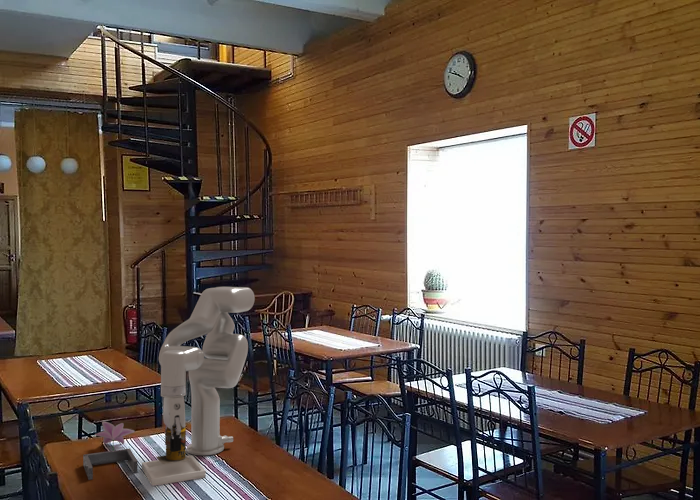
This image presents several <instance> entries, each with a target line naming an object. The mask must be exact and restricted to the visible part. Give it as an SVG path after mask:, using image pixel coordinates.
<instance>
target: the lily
mask: <svg viewBox="0 0 700 500" xmlns="http://www.w3.org/2000/svg"><path fill="white" fill-rule="evenodd" d="M101 423H102V424H101V425H102V429H103V431H99V432H97V433H95V434H94V436H97V437H103V440H102V441H103V442H102V443H103V445H106V444H109V443H110V442H112V451H114V442H115V441H116V442H118V443H121V444H125V439H124V438H125V436H126V435H127V436H128V435H130V434H133V433H135V430H134V429H131V428H124V423H123V422H121V423H119V424H116V425H114V424H112V423H110V422H108V421H103V420H102V422H101Z"/></svg>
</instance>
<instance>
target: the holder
mask: <svg viewBox="0 0 700 500" xmlns="http://www.w3.org/2000/svg"><path fill="white" fill-rule="evenodd" d="M82 456H83V457H82V458H83V459H82V460H83V462H82V463H83V464H82V465H83V468H84V471H85V474H86V477H87V479H88V481H91V480H94V478H93V477H94V475H93V474H94V473H93V472H94V470H93V469H94V468H93V466H99V465H104V464H112V463H119V462H120V463H121V462H127V463H128V466H129V467H130V469H131V471H132V472H133V473H134V474H136V473H138V471H139V470H138V469H139V468H138V467H139V466H138V465H139V464H138V463H139V462H138V459H137V458H136V456H135V454H134V453H133V450H131V448H130V447H129V448H122V449H116V450H114V451H113V450H110V451H107V450H106V451H100V452H94V453H87V454H83V455H82Z"/></svg>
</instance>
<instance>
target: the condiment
mask: <svg viewBox="0 0 700 500" xmlns="http://www.w3.org/2000/svg"><path fill="white" fill-rule="evenodd" d="M180 425H181V424H180ZM172 426H173V425H172ZM173 428H176V426H174V427H173ZM175 431H176V430H174V431H173V432H175ZM165 433H166V445H165V455H159V456H155V458H156V460H159V461H160V462H161V463H162V464H166V463H172V462H179V461H185V460H189V458H188V457H186V456H187V455H186V453H187V436H186V435H187V434H186V433H187V428H186V427H185V428H182V427H181V450H180V451H175V452H171V451H170V439H171V429H169V428H168V427H167V430H166V432H165Z"/></svg>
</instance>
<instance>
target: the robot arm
mask: <svg viewBox="0 0 700 500" xmlns="http://www.w3.org/2000/svg"><path fill="white" fill-rule="evenodd" d="M255 300H256V298H255V293H254V291H253V290H252V289H251V288H250V287H244V286H243V287H241V286H240V287H239V286H238V287H237V286H216V287H210V288H206V289H205V290H203V291H202V293H201V294H200V296H199V298H198V300H197V303H196V304H195V307H194V309H193V311H192V313H191V314H190V317H189V318H188V319H186V320H185V321H184V322H182V323H181V324H179V325H178V326H176V327H175V328H173V329H172V330H171V331H170V332H168V334H167V336H166V337H165V339H164V342H163V343H162V345H161V347H160V350H159V354H158V362H159V365H160V397H162V398H163V410H162V413H163V414H162V417H163V418H162V419H163V423H164V426H165V429H164V430H165V431H164V432H165V433H164V434H165V435H164V445H165V446H166V430H167V427H168V428H169V429H171V439H170V451H171V452H175V451H180V450H181V427H182V428H185V429H186V410H185V409H186V406H185V405H186V404H185V396H186V395H187V393H186V392H187V372H188V379H189V383H190V385H189V386H190V393H191V394H190V395H191V412H190V413H191V418H190V419H191V420H190V421H191V430H190V431H191V435H190V438H191V439H190V440H191V443H189V444H188V445H186V453H187V454H188V453H189V455H192V456H210V455H211V456H213V455H216V454H219V453H221V452H223V451H224V449H225V445H224V444H225V443H233V442H234V436H228V435H223V436H222V435H221V434H220V430H221V429H220V425H221V424H220V423H221V419H220V418H221V417H220V412H221V411H220V409H221V408H220V407H221V406H220V405H221V404H220V403H221V401H220V400H221V399H220V396H219V393H218V391H217V389H216V388H219V389H221V388H222V389H231V388H234V387H236V386H237V384H238V382H239V380H240V378H241V374H242V372H243V368H244V366H245V363H246V360H247V356H248V352H249V343H248V339H247V338H246V337H245V335H243V334H239V333H234V331H235V322H234V320H233V318H232V317H231V316H230V314H229V313H233V314H234V313H235V314H237V313H243V312H248V311H249V310H251V309H252V308H253V306H254V303H255ZM205 335H206V336H205ZM202 336H205V340H204V341H203V345H202V347H201V348H202V349H201V348H199V347H196V346H186V345H182V344H184V343H186V342H188V341H190V340H193V339H197V338H199V337H202ZM180 424H181V425H180ZM172 425H173V426H172ZM174 426H176V428H173V427H174ZM174 430H176V431H175V432H173V431H174Z"/></svg>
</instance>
